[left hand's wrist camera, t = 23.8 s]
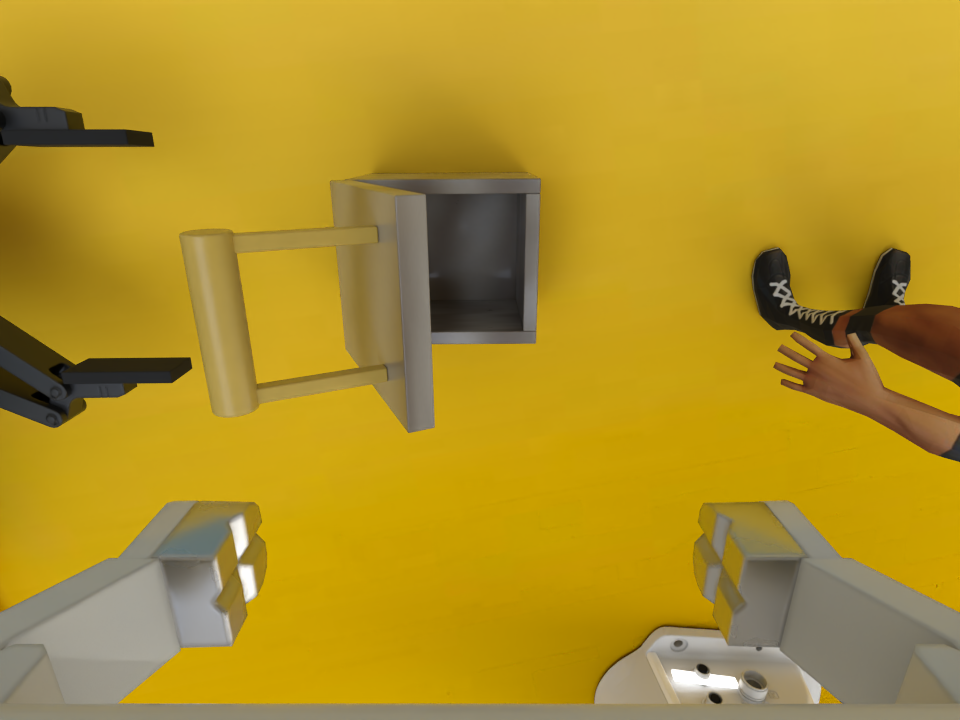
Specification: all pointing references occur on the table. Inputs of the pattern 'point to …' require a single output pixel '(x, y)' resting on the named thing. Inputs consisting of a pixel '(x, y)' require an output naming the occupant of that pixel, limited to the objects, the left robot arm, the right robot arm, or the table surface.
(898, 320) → the figurine
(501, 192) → the chest
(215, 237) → the lid
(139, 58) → the table surface
